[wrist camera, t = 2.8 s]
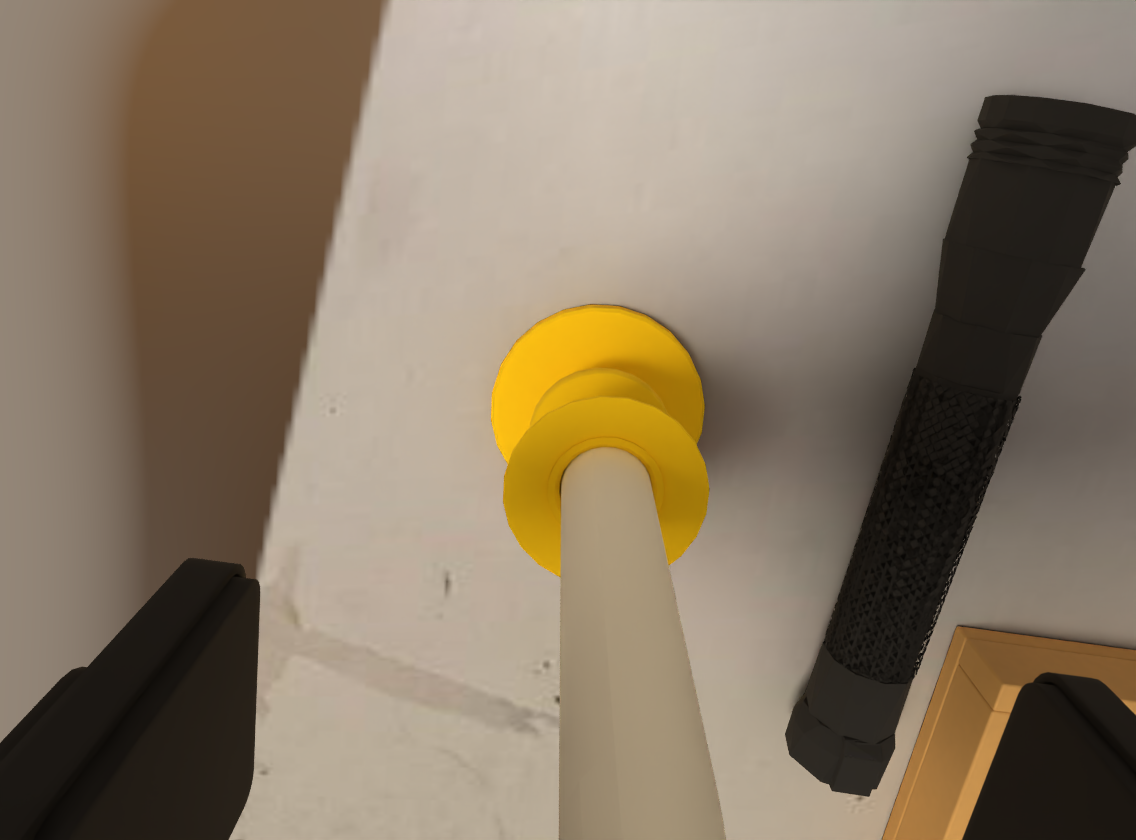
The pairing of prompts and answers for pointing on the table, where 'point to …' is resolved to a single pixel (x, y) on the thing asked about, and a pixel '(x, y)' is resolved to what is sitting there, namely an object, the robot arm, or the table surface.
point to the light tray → (985, 720)
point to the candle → (613, 560)
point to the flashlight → (956, 413)
